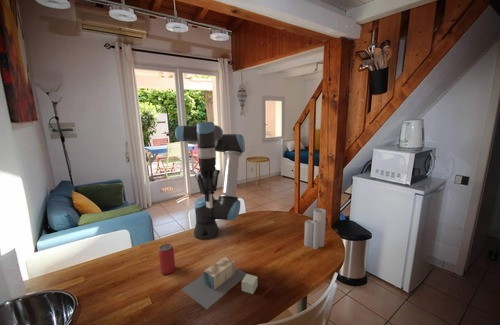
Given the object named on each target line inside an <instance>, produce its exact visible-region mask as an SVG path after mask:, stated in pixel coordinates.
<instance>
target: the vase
mask: <svg viewBox="0 0 500 325" xmlns="http://www.w3.org/2000/svg"><path fill="white" fill-rule="evenodd" d="M312 216H313V218H312V220H311V219H306V220H305V221H304V238H303V246H304V247H306V248H312V249H314V250H318V249H319V248H322V247H324V246H325V239H326V238H325V236H326V235H325V234H326V216H327V210H326V209H324V208H321V207H315V208H313V215H312Z"/></svg>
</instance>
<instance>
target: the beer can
mask: <svg viewBox="0 0 500 325" xmlns="http://www.w3.org/2000/svg"><path fill="white" fill-rule="evenodd" d="M175 260H176V259H175V251H174V247H173V245H172V244H170V243H165V244H162V245H160V247H159V250H158V261H159V271H160V273H161V274H162V275H169V274H172V273H173V272H174V271H175V270H176V262H175Z"/></svg>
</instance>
